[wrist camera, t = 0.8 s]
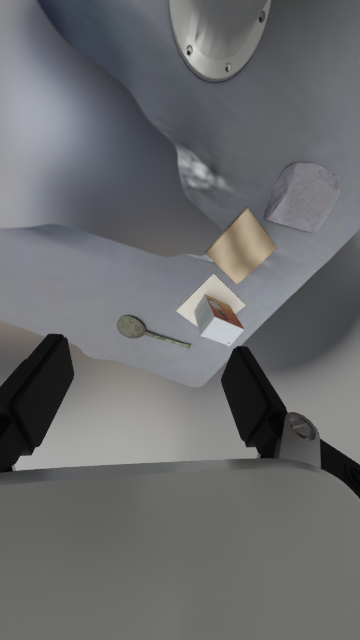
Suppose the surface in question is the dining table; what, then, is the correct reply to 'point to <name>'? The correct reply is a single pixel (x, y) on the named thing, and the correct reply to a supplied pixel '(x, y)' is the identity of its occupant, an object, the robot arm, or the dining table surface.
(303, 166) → the stone block
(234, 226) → the wooden board
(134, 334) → the soupspoon
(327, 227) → the dining table surface
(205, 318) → the small box
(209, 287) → the cream tile
